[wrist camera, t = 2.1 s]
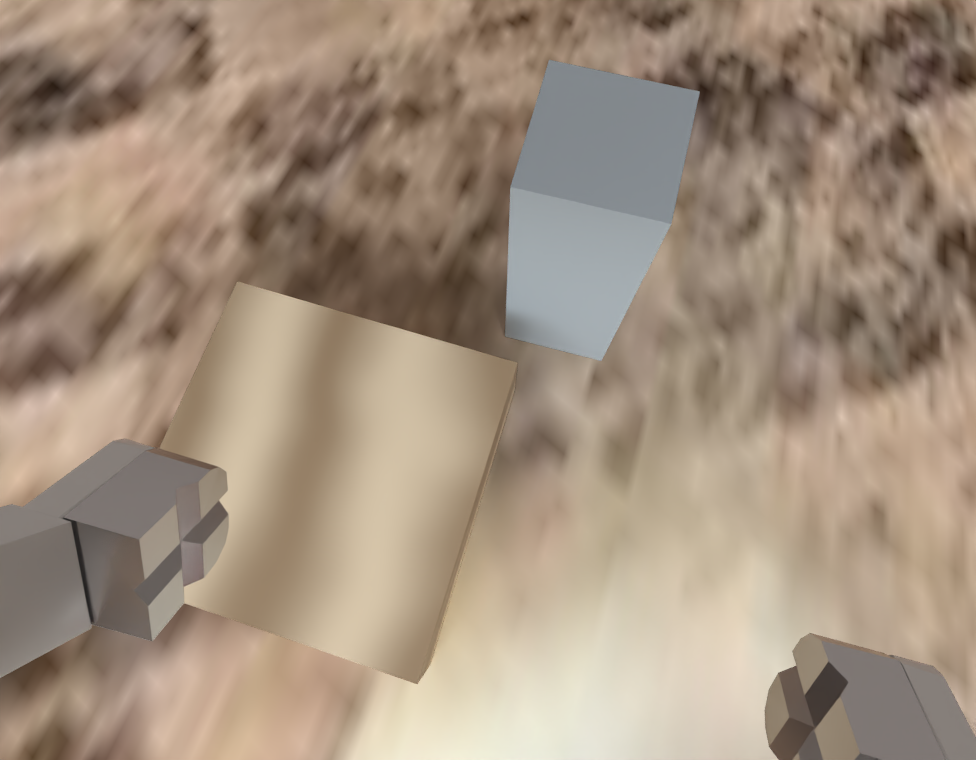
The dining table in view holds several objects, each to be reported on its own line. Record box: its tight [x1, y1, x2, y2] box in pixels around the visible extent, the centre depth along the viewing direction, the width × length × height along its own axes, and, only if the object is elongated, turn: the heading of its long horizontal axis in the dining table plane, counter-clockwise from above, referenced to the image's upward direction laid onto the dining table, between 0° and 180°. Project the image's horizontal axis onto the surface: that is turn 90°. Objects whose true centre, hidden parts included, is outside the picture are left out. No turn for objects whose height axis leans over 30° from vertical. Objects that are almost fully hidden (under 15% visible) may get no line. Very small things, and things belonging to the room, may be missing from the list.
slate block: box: [505, 60, 700, 361], centre depth 26 cm, size 5×5×13 cm
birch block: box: [160, 281, 518, 684], centre depth 28 cm, size 13×13×5 cm
